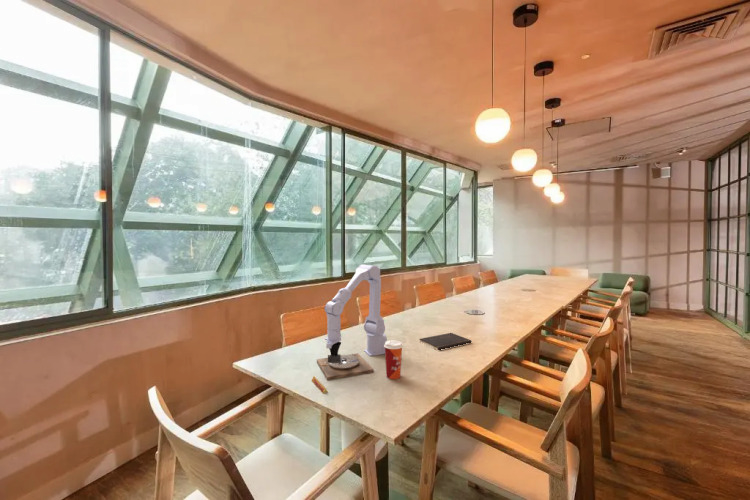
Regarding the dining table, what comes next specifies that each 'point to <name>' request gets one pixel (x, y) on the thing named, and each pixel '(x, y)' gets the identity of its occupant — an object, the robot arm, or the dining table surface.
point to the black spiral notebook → (444, 341)
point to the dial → (342, 361)
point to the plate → (337, 373)
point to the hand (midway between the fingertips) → (334, 358)
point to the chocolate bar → (319, 385)
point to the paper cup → (393, 358)
